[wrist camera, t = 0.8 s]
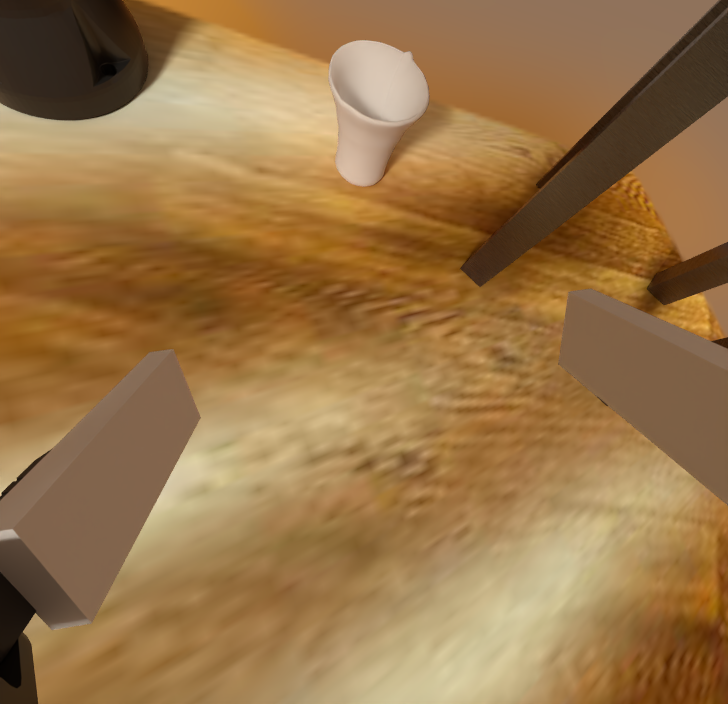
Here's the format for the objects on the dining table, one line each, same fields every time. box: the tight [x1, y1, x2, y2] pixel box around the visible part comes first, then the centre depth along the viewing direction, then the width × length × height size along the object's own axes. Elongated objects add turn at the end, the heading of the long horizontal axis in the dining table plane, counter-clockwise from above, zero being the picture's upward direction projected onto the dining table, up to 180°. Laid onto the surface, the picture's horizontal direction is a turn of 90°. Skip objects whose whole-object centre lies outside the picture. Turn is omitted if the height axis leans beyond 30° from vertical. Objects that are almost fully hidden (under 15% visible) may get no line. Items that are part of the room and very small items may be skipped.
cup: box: [329, 40, 429, 187], centre depth 35 cm, size 9×9×10 cm
